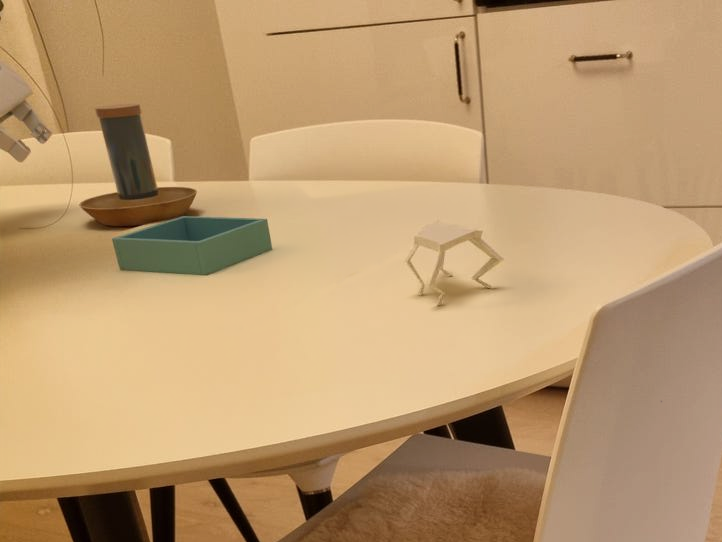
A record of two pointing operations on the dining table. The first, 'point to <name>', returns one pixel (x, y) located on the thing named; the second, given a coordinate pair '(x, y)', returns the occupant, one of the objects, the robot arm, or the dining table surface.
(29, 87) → the robot arm
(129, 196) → the jar
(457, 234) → the cream legged block
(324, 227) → the dining table surface
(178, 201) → the plant saucer
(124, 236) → the green shallow square box
